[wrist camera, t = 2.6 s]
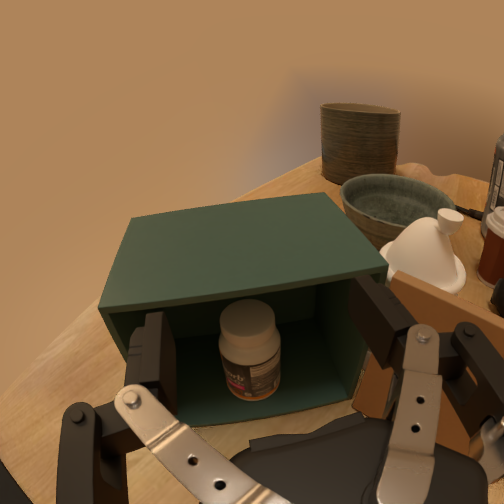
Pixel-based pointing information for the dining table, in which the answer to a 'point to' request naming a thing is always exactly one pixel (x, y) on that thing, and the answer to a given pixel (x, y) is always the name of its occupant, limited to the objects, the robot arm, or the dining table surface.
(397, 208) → the bowl
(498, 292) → the fried food
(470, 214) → the knife
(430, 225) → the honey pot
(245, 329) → the pill bottle
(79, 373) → the dining table surface
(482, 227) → the supplement tub
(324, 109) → the planter
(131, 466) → the dining table surface
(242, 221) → the cupboard
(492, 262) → the coffee cup
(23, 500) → the mat
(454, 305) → the cupboard door
